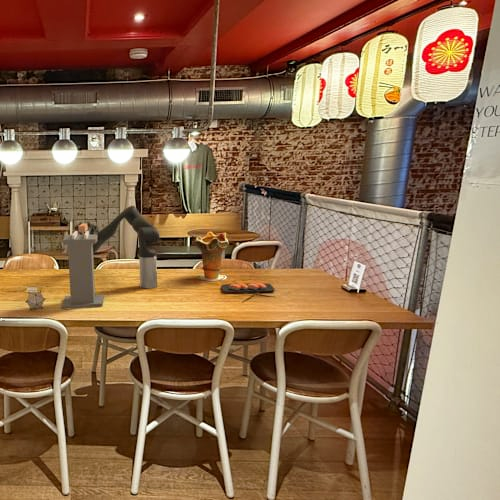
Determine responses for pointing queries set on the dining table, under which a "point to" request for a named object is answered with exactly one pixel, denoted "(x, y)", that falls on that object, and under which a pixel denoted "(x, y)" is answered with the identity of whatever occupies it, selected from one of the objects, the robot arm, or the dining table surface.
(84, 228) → the bar
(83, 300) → the stand
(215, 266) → the decorative vase
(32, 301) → the game die
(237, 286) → the sushi plate
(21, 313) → the dining table surface
